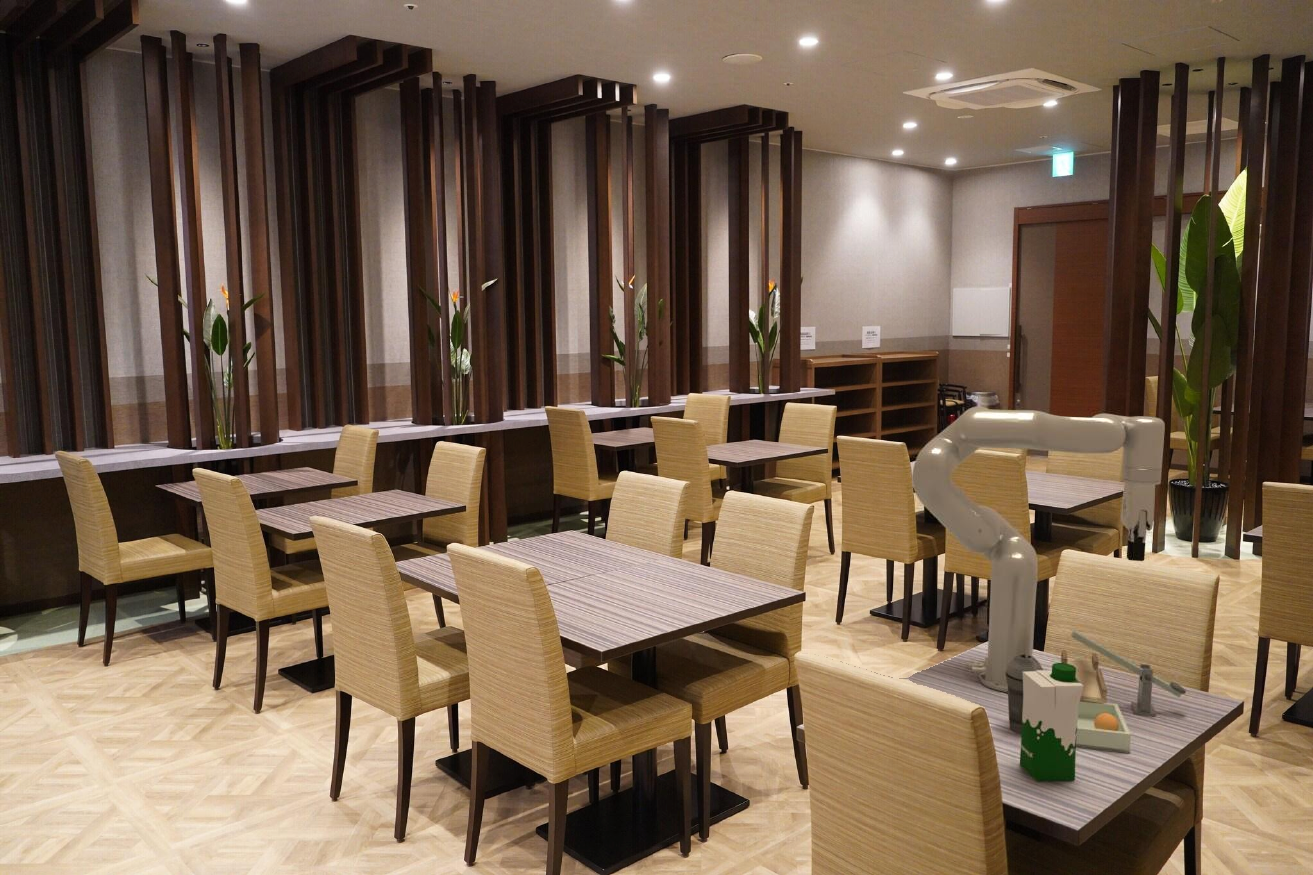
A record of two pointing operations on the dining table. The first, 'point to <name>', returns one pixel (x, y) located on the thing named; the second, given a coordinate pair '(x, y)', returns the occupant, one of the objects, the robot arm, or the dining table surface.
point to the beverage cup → (1018, 686)
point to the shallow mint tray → (1099, 737)
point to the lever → (1128, 664)
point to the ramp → (1089, 678)
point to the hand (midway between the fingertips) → (1135, 559)
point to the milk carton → (1050, 722)
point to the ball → (1106, 722)
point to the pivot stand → (1144, 693)
